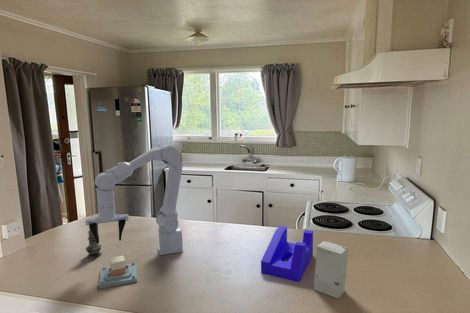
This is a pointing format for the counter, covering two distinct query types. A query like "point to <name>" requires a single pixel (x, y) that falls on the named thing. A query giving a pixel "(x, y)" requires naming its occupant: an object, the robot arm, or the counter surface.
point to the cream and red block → (118, 266)
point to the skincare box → (331, 269)
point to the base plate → (109, 281)
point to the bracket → (287, 256)
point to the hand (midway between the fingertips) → (109, 241)
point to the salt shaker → (93, 247)
